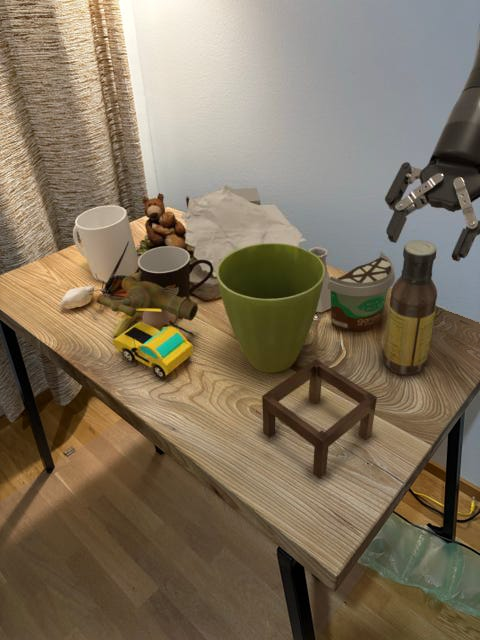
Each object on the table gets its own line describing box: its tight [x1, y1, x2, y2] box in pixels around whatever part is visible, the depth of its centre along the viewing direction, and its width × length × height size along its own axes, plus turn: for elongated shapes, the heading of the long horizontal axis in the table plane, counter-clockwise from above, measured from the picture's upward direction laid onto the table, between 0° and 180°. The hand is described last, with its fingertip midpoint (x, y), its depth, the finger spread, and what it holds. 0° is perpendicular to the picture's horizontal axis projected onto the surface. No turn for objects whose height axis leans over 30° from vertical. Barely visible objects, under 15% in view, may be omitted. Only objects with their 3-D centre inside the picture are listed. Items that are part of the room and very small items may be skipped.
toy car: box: [112, 308, 195, 380], centre depth 81 cm, size 12×8×8 cm, turn 53°
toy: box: [230, 187, 261, 205], centre depth 110 cm, size 10×8×15 cm
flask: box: [308, 246, 331, 313], centre depth 91 cm, size 7×7×10 cm
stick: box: [169, 321, 195, 337], centre depth 86 cm, size 6×1×2 cm
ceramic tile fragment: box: [190, 264, 222, 301], centre depth 99 cm, size 12×3×10 cm
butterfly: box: [90, 241, 129, 313], centre depth 94 cm, size 12×10×10 cm
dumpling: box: [59, 285, 97, 310], centre depth 96 cm, size 7×5×4 cm
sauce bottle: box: [383, 239, 438, 376], centre depth 74 cm, size 6×6×20 cm
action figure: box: [96, 272, 199, 322], centre depth 82 cm, size 15×4×15 cm
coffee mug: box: [138, 246, 213, 299], centre depth 91 cm, size 12×9×10 cm
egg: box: [142, 309, 177, 331], centre depth 88 cm, size 5×5×7 cm
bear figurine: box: [136, 192, 198, 264], centre depth 105 cm, size 14×15×12 cm
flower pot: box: [216, 243, 325, 374], centre depth 78 cm, size 15×15×16 cm
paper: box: [180, 184, 307, 277], centre depth 100 cm, size 24×6×20 cm
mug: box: [72, 204, 139, 283], centre depth 102 cm, size 10×12×12 cm
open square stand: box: [261, 358, 378, 480], centre depth 68 cm, size 10×10×7 cm
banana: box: [112, 311, 144, 339], centre depth 90 cm, size 8×2×4 cm
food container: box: [327, 252, 396, 333], centre depth 86 cm, size 12×6×10 cm, turn 126°
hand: (422, 249), depth 69 cm, fingers open, 8 cm apart
